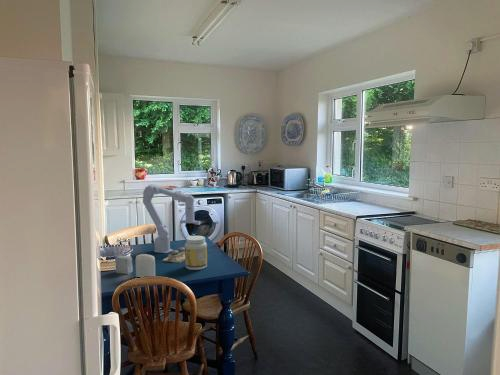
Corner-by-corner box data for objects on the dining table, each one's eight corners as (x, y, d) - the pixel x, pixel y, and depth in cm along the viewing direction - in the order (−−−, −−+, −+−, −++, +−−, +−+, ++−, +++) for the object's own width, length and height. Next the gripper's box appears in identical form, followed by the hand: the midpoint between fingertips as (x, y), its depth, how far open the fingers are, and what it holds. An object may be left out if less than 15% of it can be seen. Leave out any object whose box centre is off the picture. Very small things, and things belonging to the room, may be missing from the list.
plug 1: (169, 258, 226) (169, 251, 225) (174, 256, 230) (173, 249, 229) (176, 259, 224) (175, 252, 223) (180, 257, 228) (180, 250, 227)
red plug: (182, 251, 238) (182, 245, 238) (186, 249, 242) (186, 243, 242) (188, 252, 237) (188, 245, 236) (192, 250, 241) (192, 244, 240)
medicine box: (133, 271, 206) (132, 256, 205) (127, 274, 202) (127, 258, 201) (120, 270, 209) (120, 255, 208) (115, 273, 205) (114, 257, 204)
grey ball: (176, 255, 232) (176, 248, 231) (180, 253, 236) (180, 246, 235) (182, 256, 230) (182, 249, 230) (186, 254, 234) (186, 247, 234)
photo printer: (156, 276, 198) (155, 253, 197) (153, 279, 194) (152, 256, 193) (139, 275, 201) (137, 252, 199) (134, 278, 196) (133, 255, 195)
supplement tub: (181, 266, 214) (180, 237, 212) (200, 262, 222) (199, 234, 220) (192, 272, 204) (191, 241, 203) (211, 267, 212) (210, 238, 210)
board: (162, 260, 225) (162, 254, 225) (183, 251, 246) (183, 245, 245) (179, 262, 221) (179, 256, 220) (199, 252, 241) (199, 247, 240)
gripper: (176, 214, 243) (177, 235, 245) (196, 215, 238) (196, 237, 239) (182, 212, 250) (183, 232, 251) (202, 214, 244) (202, 234, 246)
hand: (190, 234), depth 246 cm, fingers closed
